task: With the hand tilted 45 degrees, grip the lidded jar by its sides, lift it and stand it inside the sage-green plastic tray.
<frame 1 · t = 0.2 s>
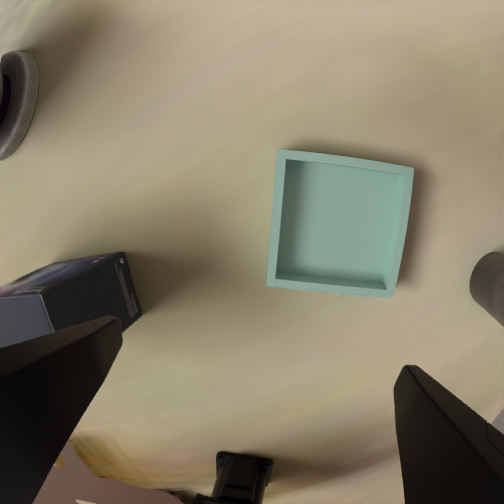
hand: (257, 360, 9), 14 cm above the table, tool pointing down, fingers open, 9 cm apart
lidded jar: (490, 278, 20), on the table
tray: (337, 222, 21), on the table
webcam: (6, 106, 23), on the table
small box: (91, 286, 26), on the table
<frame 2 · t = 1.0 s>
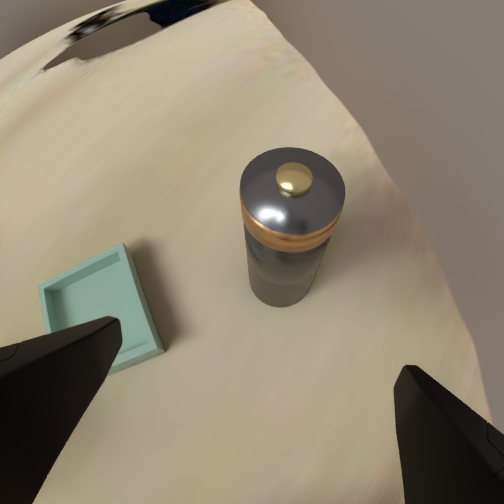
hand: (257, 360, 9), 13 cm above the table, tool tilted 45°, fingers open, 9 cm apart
lidded jar: (280, 277, 24), on the table
tray: (99, 320, 23), on the table
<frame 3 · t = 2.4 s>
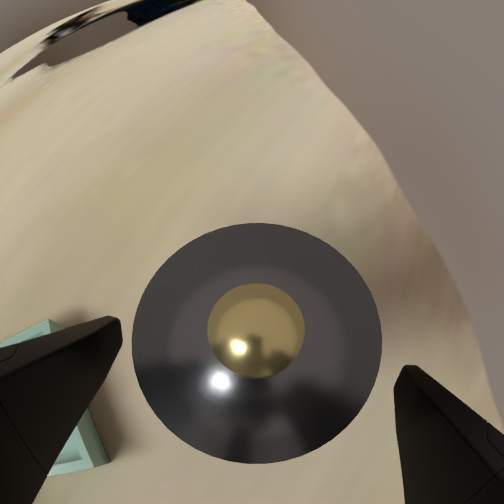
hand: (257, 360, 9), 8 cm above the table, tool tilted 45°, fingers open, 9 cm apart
lidded jar: (258, 377, 16), on the table
tray: (34, 409, 14), on the table
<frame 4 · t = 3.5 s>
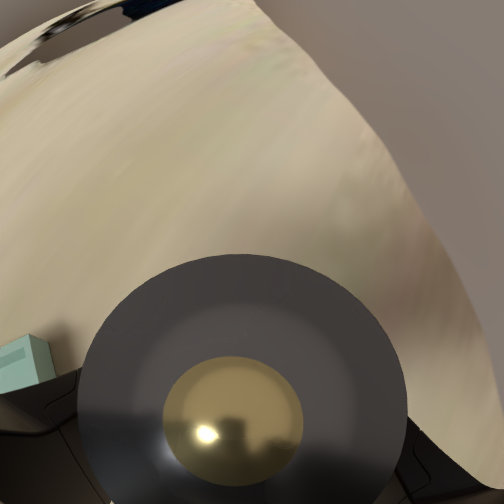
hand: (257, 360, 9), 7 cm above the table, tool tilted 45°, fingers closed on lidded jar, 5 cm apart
lidded jar: (254, 401, 14), on the table, touching gripper
tray: (20, 426, 12), on the table
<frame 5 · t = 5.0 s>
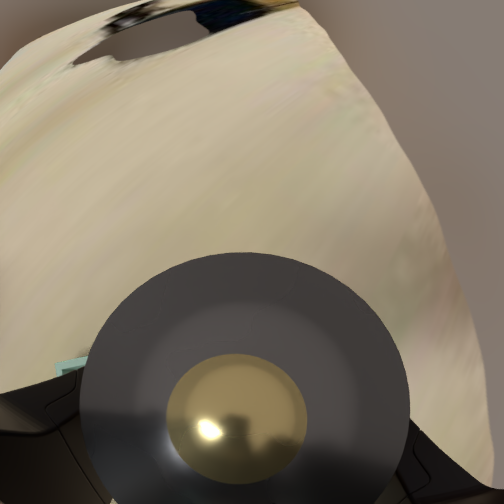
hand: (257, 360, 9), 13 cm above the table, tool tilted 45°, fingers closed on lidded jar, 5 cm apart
lidded jar: (254, 400, 14), point 7 cm above the table, touching gripper
tray: (125, 412, 19), on the table
when the fingers open (8 cm above the table, at t = 6.9 s): lidded jar drops 1 cm, resting on tray.
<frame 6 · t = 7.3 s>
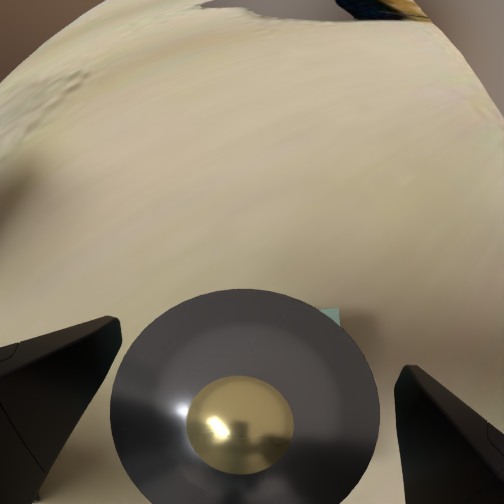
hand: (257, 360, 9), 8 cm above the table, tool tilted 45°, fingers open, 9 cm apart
lidded jar: (254, 401, 15), point 1 cm above the table, touching tray
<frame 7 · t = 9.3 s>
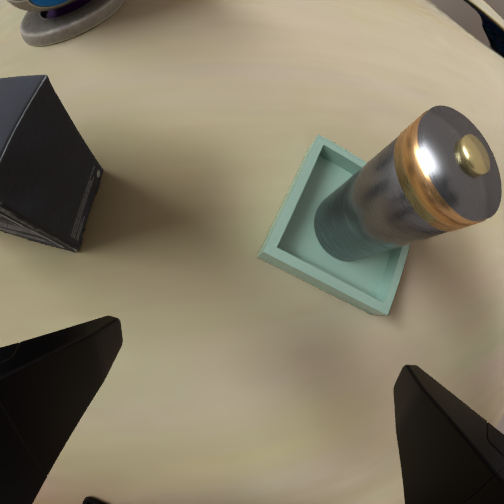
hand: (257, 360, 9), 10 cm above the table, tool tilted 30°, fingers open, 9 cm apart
lidded jar: (346, 226, 20), point 1 cm above the table, touching tray
tray: (342, 228, 21), on the table
webcam: (73, 12, 21), on the table
small box: (36, 196, 18), on the table
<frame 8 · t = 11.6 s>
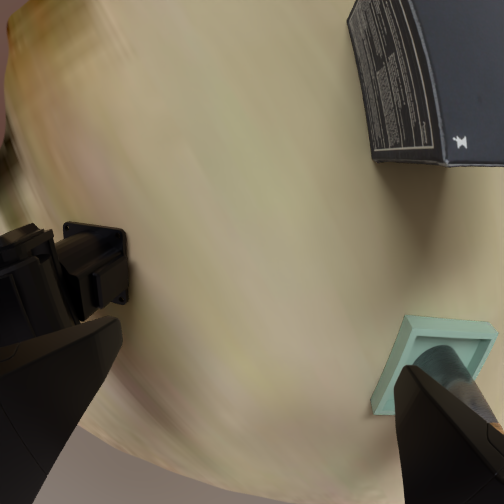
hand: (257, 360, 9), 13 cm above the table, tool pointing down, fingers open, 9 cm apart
lidded jar: (433, 367, 22), point 1 cm above the table, touching tray
tray: (431, 363, 22), on the table
small box: (402, 86, 16), on the table
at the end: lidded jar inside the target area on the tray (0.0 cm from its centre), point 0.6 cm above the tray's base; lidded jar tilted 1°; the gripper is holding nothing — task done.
